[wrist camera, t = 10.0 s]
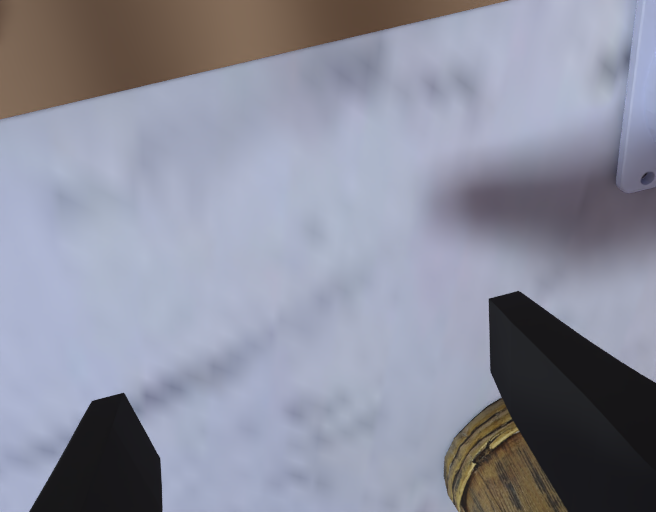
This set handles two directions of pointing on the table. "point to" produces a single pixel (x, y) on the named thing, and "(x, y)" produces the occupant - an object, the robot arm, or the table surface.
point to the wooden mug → (496, 468)
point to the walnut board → (170, 39)
